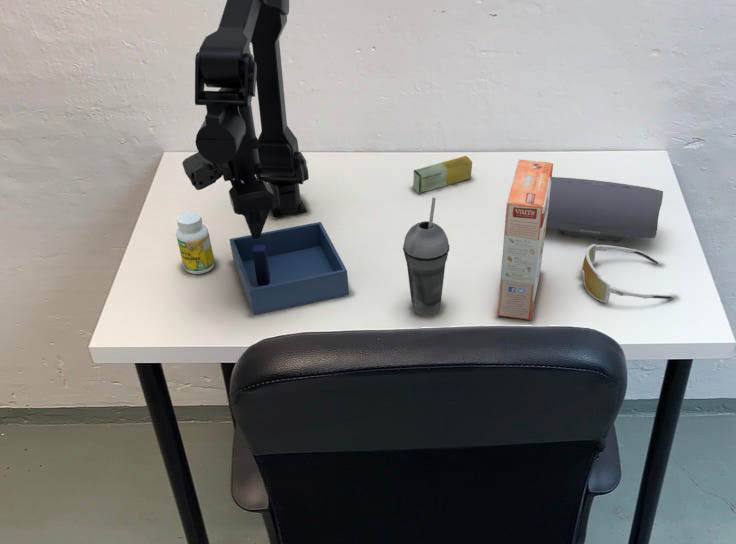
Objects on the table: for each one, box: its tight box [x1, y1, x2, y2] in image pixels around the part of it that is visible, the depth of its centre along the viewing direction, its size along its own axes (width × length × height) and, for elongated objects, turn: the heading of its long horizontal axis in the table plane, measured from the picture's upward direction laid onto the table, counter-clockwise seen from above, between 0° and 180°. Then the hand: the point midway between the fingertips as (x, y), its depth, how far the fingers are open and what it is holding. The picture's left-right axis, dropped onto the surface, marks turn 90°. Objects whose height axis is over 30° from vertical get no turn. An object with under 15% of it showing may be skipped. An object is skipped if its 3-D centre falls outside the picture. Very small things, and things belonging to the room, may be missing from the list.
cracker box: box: [497, 159, 554, 321], centre depth 142 cm, size 14×6×21 cm, turn 168°
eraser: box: [252, 245, 270, 286], centre depth 149 cm, size 2×2×7 cm
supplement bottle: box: [175, 211, 216, 275], centre depth 152 cm, size 5×5×10 cm
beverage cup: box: [402, 197, 450, 317], centre depth 139 cm, size 7×7×20 cm
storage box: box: [229, 221, 350, 316], centre depth 151 cm, size 16×16×5 cm
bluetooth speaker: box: [546, 176, 664, 241], centre depth 159 cm, size 23×9×10 cm, turn 77°
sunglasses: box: [581, 243, 675, 303], centre depth 150 cm, size 14×15×5 cm
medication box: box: [412, 155, 473, 195], centre depth 174 cm, size 12×3×4 cm, turn 118°
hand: (250, 223), depth 143 cm, fingers open, 9 cm apart
